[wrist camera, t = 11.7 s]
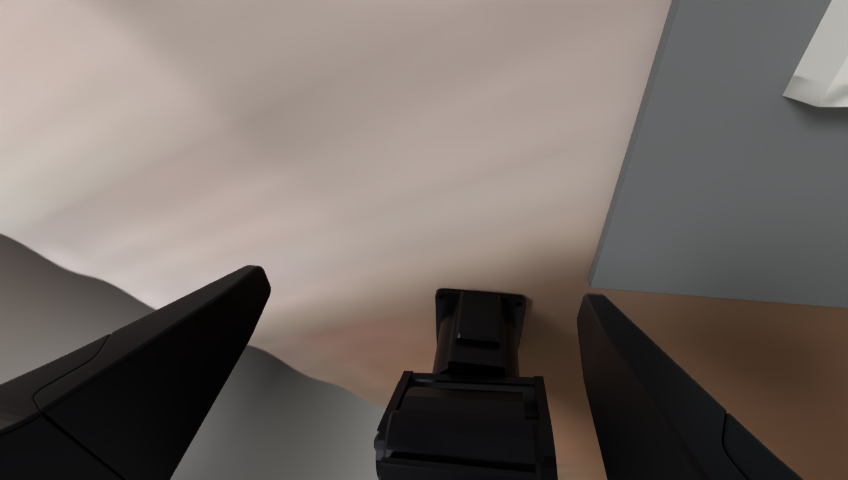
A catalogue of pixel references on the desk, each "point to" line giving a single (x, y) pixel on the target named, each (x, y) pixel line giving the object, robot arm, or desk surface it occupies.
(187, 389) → the robot arm
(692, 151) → the mat
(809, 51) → the tray frame
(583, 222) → the desk surface
